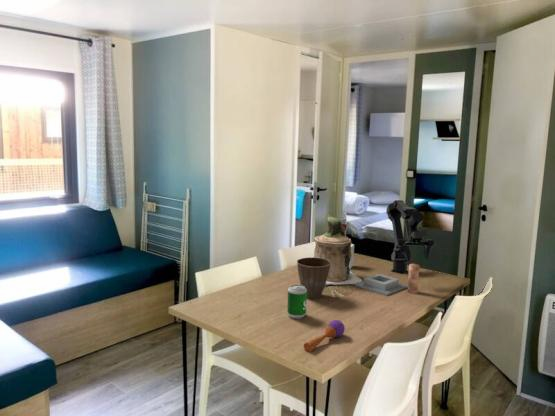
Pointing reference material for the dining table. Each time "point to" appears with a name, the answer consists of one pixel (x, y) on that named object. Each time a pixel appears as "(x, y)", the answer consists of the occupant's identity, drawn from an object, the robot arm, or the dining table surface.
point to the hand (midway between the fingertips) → (417, 260)
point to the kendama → (326, 334)
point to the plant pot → (313, 275)
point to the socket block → (381, 284)
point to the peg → (413, 278)
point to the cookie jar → (336, 253)
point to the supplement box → (352, 256)
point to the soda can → (297, 301)
